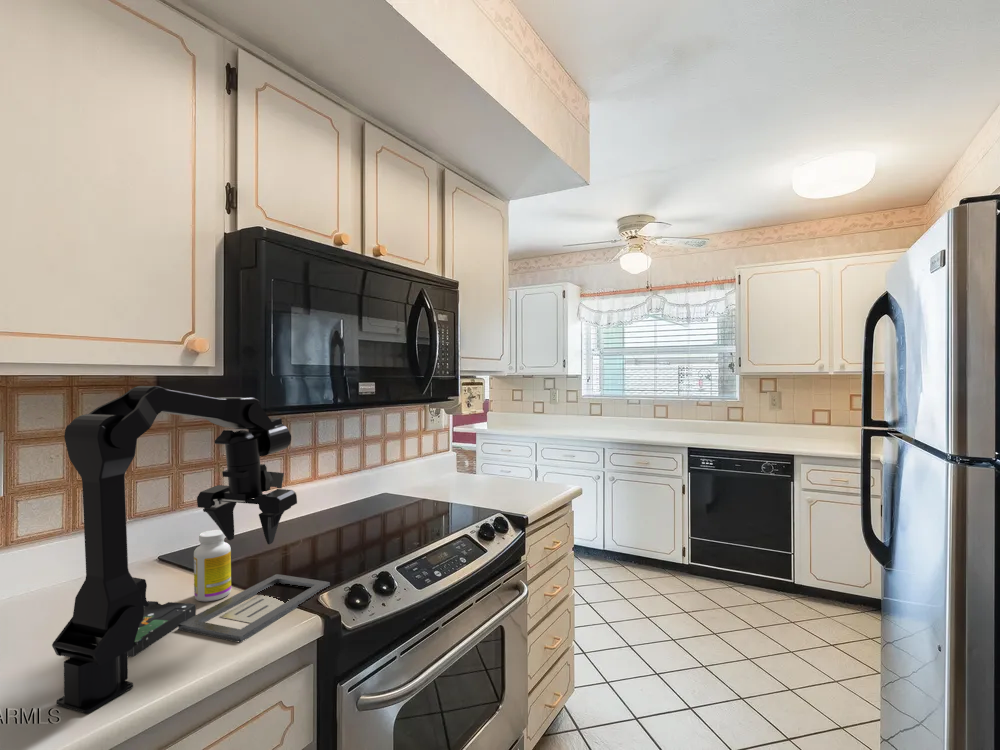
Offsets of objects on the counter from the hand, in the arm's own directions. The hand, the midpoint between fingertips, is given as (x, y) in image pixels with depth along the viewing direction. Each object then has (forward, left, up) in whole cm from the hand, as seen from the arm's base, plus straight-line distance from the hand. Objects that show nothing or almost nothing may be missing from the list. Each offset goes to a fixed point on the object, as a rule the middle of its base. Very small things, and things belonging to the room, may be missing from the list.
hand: (250, 541), depth 102 cm
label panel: (+1, -1, -13) cm, 13 cm away
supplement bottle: (+2, +12, -13) cm, 18 cm away
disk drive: (-14, +11, -14) cm, 22 cm away
